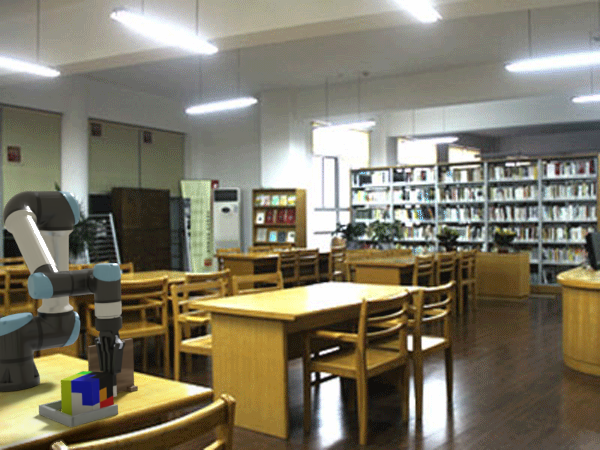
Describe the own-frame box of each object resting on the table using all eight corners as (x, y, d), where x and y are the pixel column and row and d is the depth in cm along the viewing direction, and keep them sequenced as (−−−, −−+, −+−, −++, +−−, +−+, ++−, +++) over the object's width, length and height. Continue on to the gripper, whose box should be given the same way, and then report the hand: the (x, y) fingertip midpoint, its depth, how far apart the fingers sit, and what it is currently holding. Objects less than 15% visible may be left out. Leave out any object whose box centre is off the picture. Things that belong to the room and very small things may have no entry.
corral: (39, 414, 174) (38, 405, 174) (85, 402, 184) (84, 393, 184) (70, 427, 162) (70, 417, 162) (118, 413, 172) (117, 404, 172)
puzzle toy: (93, 418, 169) (91, 381, 169) (61, 415, 172) (60, 380, 172) (113, 407, 179) (112, 372, 178) (83, 405, 181) (82, 371, 181)
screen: (85, 397, 189) (83, 345, 189) (128, 386, 200) (126, 337, 200) (95, 401, 185) (93, 347, 185) (138, 389, 196) (137, 339, 196)
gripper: (132, 316, 179) (135, 397, 179) (107, 312, 187) (110, 390, 188) (109, 320, 173) (112, 403, 174) (85, 316, 182) (87, 395, 182)
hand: (111, 396), depth 181 cm, fingers closed
